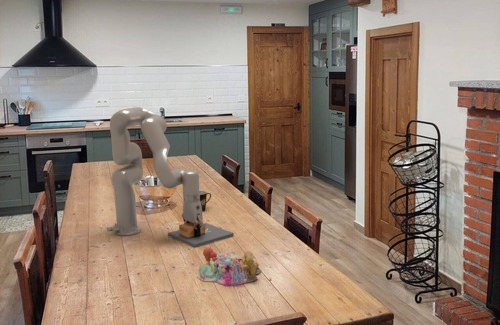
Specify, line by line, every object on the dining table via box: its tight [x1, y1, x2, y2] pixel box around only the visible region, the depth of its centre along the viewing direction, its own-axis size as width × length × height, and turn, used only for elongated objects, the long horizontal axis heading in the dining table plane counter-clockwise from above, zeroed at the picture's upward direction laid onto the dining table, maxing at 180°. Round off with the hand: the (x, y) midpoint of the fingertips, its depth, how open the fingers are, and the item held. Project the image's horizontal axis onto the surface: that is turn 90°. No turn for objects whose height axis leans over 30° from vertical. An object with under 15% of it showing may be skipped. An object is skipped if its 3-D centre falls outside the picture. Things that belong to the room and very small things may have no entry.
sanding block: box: [178, 221, 206, 239], centre depth 243 cm, size 10×6×5 cm, turn 130°
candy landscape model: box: [195, 247, 262, 287], centre depth 202 cm, size 25×24×9 cm
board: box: [167, 222, 235, 248], centre depth 246 cm, size 22×22×2 cm
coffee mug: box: [199, 190, 212, 213], centre depth 288 cm, size 12×9×10 cm
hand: (192, 234), depth 244 cm, fingers closed on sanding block, 6 cm apart
